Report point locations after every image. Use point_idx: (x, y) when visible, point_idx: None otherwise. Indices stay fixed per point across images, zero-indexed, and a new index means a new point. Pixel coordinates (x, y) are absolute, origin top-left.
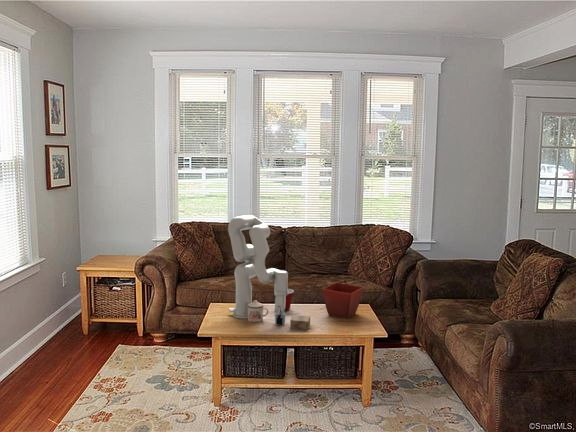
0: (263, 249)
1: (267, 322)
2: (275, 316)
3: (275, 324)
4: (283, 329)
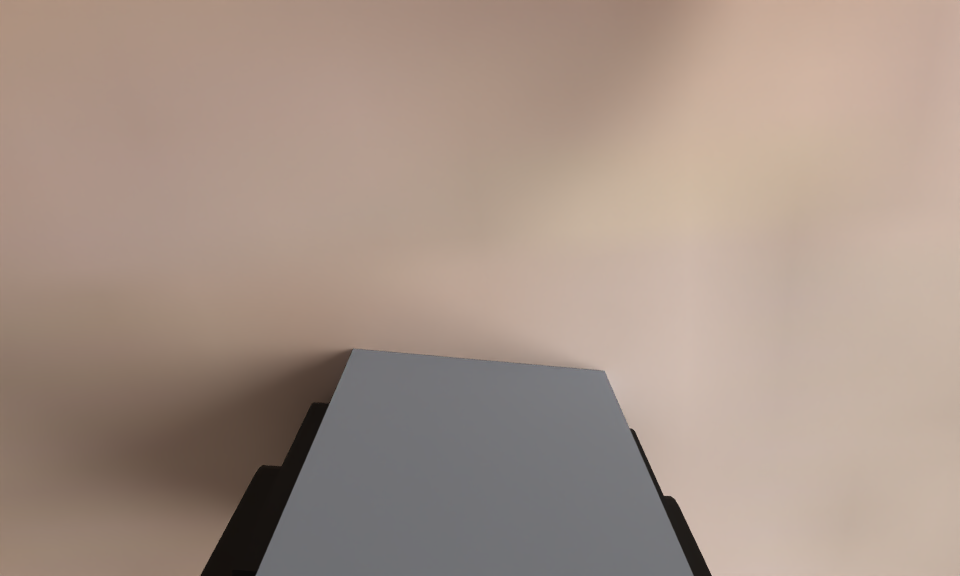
0: None
1: (550, 93)
2: (263, 563)
3: (350, 361)
4: (34, 550)
